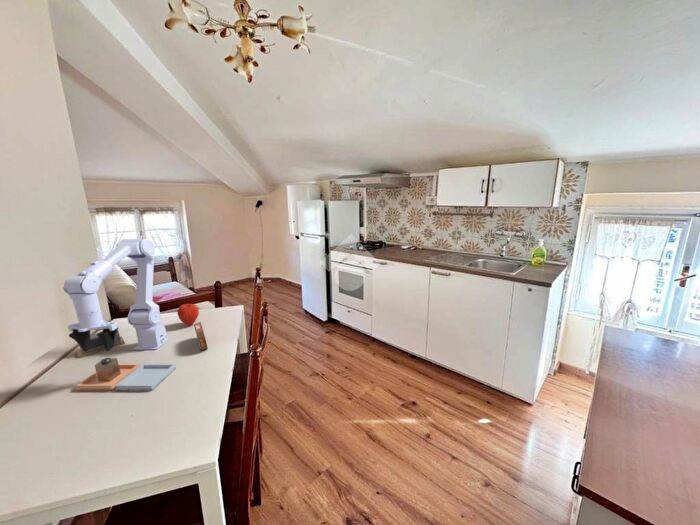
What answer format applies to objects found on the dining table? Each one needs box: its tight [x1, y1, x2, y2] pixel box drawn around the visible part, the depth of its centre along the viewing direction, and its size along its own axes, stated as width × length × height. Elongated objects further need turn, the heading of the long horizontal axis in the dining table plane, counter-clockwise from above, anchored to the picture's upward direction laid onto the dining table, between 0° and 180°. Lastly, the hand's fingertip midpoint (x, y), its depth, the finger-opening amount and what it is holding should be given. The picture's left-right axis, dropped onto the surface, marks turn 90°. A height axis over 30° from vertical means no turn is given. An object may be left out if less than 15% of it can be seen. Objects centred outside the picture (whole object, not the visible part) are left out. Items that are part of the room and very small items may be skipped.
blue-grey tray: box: [115, 363, 177, 392], centre depth 92 cm, size 12×12×2 cm
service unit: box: [76, 329, 126, 359], centre depth 112 cm, size 7×14×6 cm, turn 137°
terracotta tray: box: [75, 363, 141, 392], centre depth 92 cm, size 12×12×2 cm
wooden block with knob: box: [94, 357, 121, 381], centre depth 92 cm, size 4×4×7 cm
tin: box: [193, 321, 208, 351], centre depth 112 cm, size 15×3×8 cm, turn 34°
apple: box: [177, 303, 200, 327], centre depth 130 cm, size 9×8×11 cm
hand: (98, 349), depth 92 cm, fingers open, 7 cm apart
